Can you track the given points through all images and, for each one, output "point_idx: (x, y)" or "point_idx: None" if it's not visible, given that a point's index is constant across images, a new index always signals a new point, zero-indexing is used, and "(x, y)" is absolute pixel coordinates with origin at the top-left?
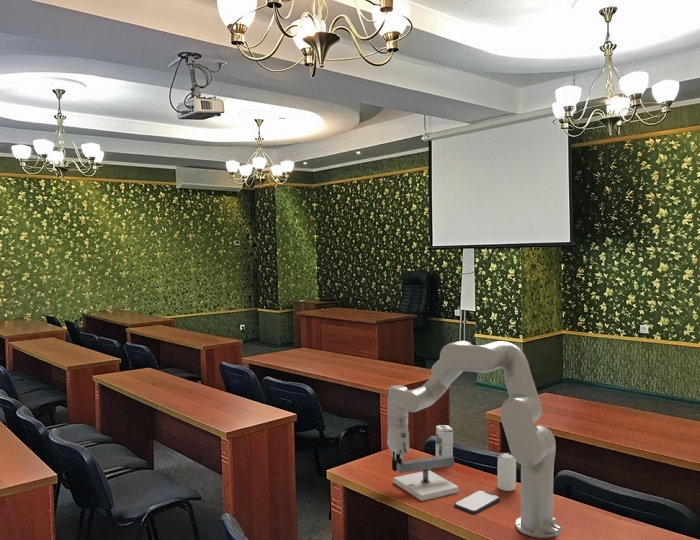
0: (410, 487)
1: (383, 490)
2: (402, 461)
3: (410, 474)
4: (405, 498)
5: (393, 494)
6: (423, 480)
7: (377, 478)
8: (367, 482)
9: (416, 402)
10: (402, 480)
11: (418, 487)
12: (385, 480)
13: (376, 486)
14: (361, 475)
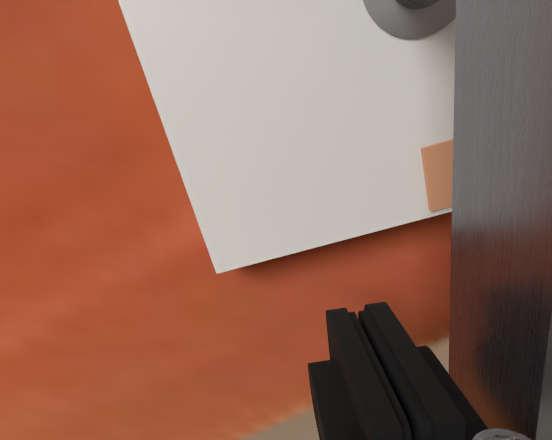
0: None
1: None
2: (545, 421)
3: (159, 79)
4: None
5: (432, 308)
6: (436, 2)
7: (110, 347)
8: (181, 420)
9: None
10: (306, 216)
11: None
12: (159, 301)
13: (264, 382)
14: (42, 434)
